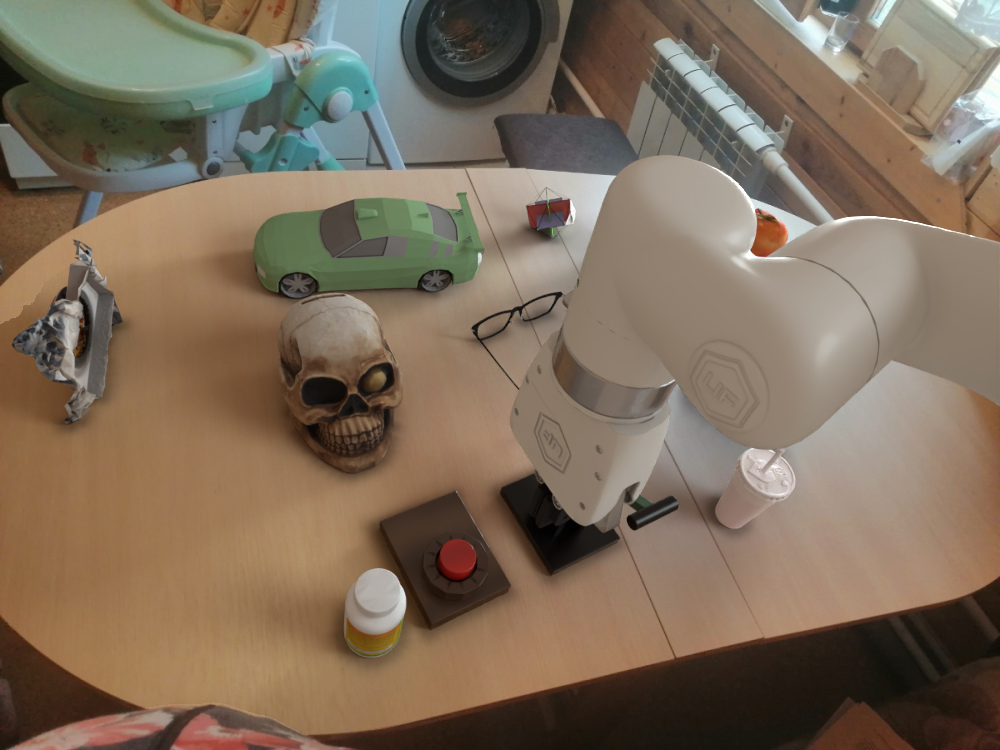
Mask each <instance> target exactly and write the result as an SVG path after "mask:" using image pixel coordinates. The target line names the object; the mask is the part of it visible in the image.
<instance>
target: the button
mask: <svg viewBox="0 0 1000 750" xmlns="http://www.w3.org/2000/svg"><path fill="white" fill-rule="evenodd" d="M475 562H476V552H475V550H474V548H473V547H472V545H471V544H469V543H468V542H466V541H464V540H461V539H454V540H450V541H448V542H447V543H445V544H444V545H443V547H442V548H441V551H440V554H439V558H438V567H439V570H440V571H441V573H442V574H443V575H444V576H445V577H447V578H448V579H451V580H462V579H465V578H467V577H468V576H469V575H470V574H471V572H472V571H473V568H474V565H475Z"/></svg>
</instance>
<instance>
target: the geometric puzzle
mask: <svg viewBox="0 0 1000 750" xmlns="http://www.w3.org/2000/svg"><path fill="white" fill-rule="evenodd" d="M547 189H548V190H549V191H551V192H552V193H554V194H555V195H557V196H558V197H557V198H550V199H549V197H548V190H547ZM544 191H545V193H546V195H545V196H546V199H543V200H538V199H539V198H540V197H541V195H542V194H543V193H544ZM539 194H540V195H539ZM536 197H538V198H537V199H536V201H534V202H532V203H528V204H526V205H525V208H526V213H527V218H528V222H529V229H533V230H536V231H540V230H545V229H551V233H552V234H554V228H558V227H563V228H562V229H560V230H559V231H558V233H561V232H563V230H564V229H567V226H572V225H573V224H574V222H575V219H576V208H575V205H574V204H573V202H572V200H571V198H569V197H565V199H564V198H563V197H562V196H560V194H559V195H558V194H557V192H556V191H555V190H553V189H551V188H548V187H547V186H545V187H544V189H543V191H540V192H539V193H538V194H537V195H536ZM564 227H565V228H564ZM561 230H562V231H561ZM541 234H544V232H542V231H541ZM546 236H547V237H549V238H551V239H552V240H554V239H556V238H557V235H555V236H554V235H552V237H551V236H550V235H548V234H546Z"/></svg>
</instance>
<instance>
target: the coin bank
mask: <svg viewBox="0 0 1000 750" xmlns="http://www.w3.org/2000/svg"><path fill="white" fill-rule="evenodd" d="M277 349H278V353H279V357H278V361H277V363H278V365H277V367H278V368H277V369H278V370H277V371H278V372H277V374H278V375H277V376H278V380H279V384H280V388H281V392H282V395H283V398H284V401H285V403H286V404H287V405H288V408H289V409H288V410H289V416H290V419H291V420H292V423H293V425H294V427H295V429H296V431H297V432H298V434H299V435H300V436H301V437H302V439H303V440H304V441H305V442H306V444H307V445H308V446H309V448H310V449H312V450H313V451H314V452H315V454H316V455H317V456H318V458H319V459H321V460H322V461H324V462H325V463H327V464H330V465H332V466H334V467H335V468H338V469H341V470H342V471H343V472H345V473H348V474H349V473H350V474H356V473H359V472H361V471H366V470H370V469H372V468H375V467H376V466H377V465H378V464H379V463H380V462H381V461H382V460H383V459H384V458H385V457H386V455H387V453H388V450H389V448H390V445H391V441H392V432H393V429H394V426H395V422H394V421H395V409H397V408H398V407H400V405H401V404H402V402H403V393H404V384H403V383H404V382H403V381H404V377H403V372H402V368H401V366H400V363H399V362H398V360H397V356H396V354H395V352H394V351H393V349H392V347H391V346H390V344H389V343H388V341H387V338H385V335H384V329H383V326H382V323H381V320H380V318H379V317H378V316H377V314H376V312H375V311H374V310H373V309H372V308H371V307H370V306H369V305H368V304H367V303H366V302H364V301H363V300H361V299H359V298H357V297H355V296H353V295H350V294H347V293H343V292H330V293H329V292H328V293H320V294H319V293H318V294H314V295H310V296H309V297H306V298H302V299H299V301H296V302H294V304H293V305H291V306H290V308H289V309H288V311H286V314H285V315H284V316H283V319H282V320H281V322H280V326H279V328H278V334H277Z"/></svg>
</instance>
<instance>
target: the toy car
mask: <svg viewBox="0 0 1000 750" xmlns="http://www.w3.org/2000/svg"><path fill="white" fill-rule="evenodd" d="M467 194H468V192H467V191H463V192H460V191H459V192H456V195H455V196H456V197H457V199H458V201H459V205H460V208H444V207H442V206H440V205H436V204H434V203H431V202H426V201H422V200H415V199H407V198H397V197H396V198H395V197H367V198H366V197H365V198H354V199H350V200H347V201H344V202H342V203H338V204H336V205H333V206H331V207H328V208H324V209H315V210H305V211H291V212H284V213H279V214H276V215H273V216H271V217H269V218H267V219H266V220H265V221H264V222H263V223H262V224H261V226H259V229H258V230H257V231H256V234H255V237H254V240H253V241H254V242H253V249H252V250H253V252H252V256H253V257H252V258H253V262H254V269H255V272H256V275H257V277H258V278H259V281H260V283H261V284H262V285H263V287H264V288H265V289H267V290H269V291H271V292H274V293H279V291H280V293H281V294H282V295H284V296H285V297H287V298H289V299H294V300H298V299H299V300H302V299H305V298H307V297H310V296H313V294H315V292H316V291H317V292H319V293H320V292H330V291H331V292H332V291H351V290H352V291H353V290H354V291H355V290H377V289H393V288H394V289H395V288H401V289H403V288H406V289H417V287H418V284H420V287H421V289H423V290H424V291H426V292H430V293H436V292H441V291H443V290H445V289H446V288H447V287H449V286H450V284H452V285H453V286H455V285H456V286H457V285H460V284H464V283H467V282H470V281H472V280H474V278H475V277H476V275H477V273H478V272H479V268H480V266H481V264H482V260H483V256H482V254H484V253H485V251H486V248H485V247H484V246H483V243H482V240H481V236H480V233H479V229H478V226H477V223H476V220H475V219H474V215H473V212H472V210H471V206H470V204H469V199H468V198H467Z"/></svg>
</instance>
